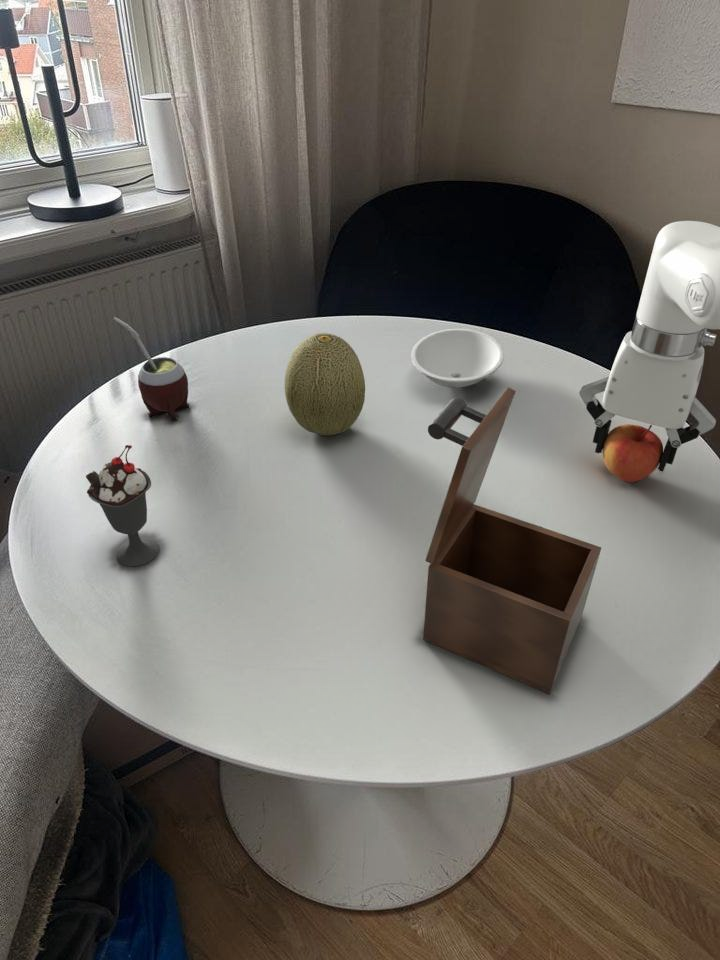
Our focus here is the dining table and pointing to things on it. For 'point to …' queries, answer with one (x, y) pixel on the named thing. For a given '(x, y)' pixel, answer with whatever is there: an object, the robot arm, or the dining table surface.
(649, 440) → the apple
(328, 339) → the fruit
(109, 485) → the sundae
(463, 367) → the dish
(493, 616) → the chest
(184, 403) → the mate gourd
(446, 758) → the dining table surface
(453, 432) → the lid
